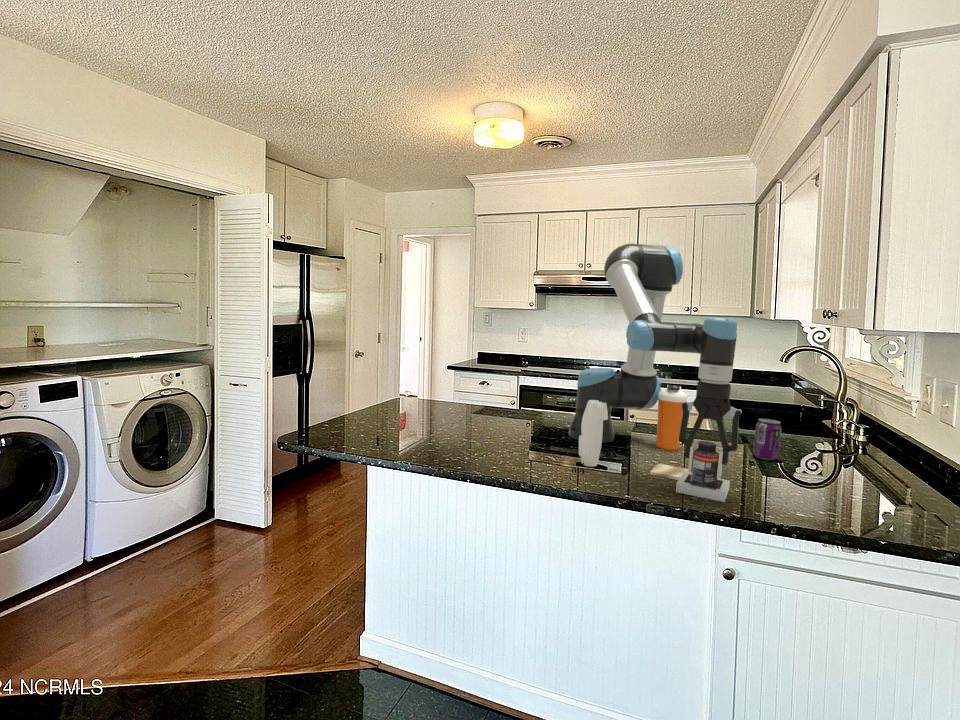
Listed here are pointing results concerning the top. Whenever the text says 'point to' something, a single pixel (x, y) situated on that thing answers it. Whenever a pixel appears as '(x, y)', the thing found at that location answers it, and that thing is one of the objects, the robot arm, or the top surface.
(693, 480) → the supplement bottle
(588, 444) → the white bottle
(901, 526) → the top surface
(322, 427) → the top surface
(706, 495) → the grey tray
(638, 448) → the top surface
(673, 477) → the maple coaster
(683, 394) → the shaker bottle
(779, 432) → the beverage can
